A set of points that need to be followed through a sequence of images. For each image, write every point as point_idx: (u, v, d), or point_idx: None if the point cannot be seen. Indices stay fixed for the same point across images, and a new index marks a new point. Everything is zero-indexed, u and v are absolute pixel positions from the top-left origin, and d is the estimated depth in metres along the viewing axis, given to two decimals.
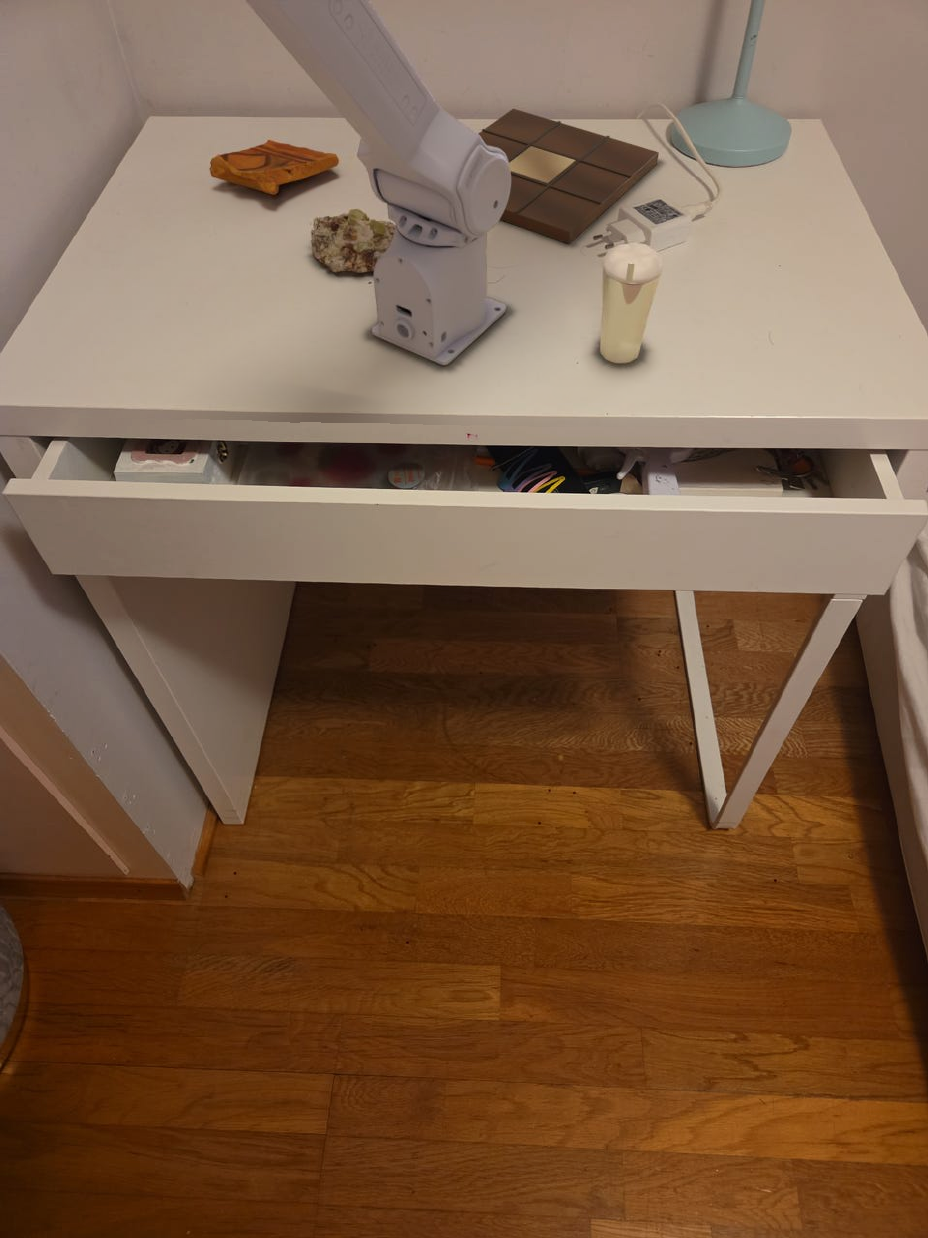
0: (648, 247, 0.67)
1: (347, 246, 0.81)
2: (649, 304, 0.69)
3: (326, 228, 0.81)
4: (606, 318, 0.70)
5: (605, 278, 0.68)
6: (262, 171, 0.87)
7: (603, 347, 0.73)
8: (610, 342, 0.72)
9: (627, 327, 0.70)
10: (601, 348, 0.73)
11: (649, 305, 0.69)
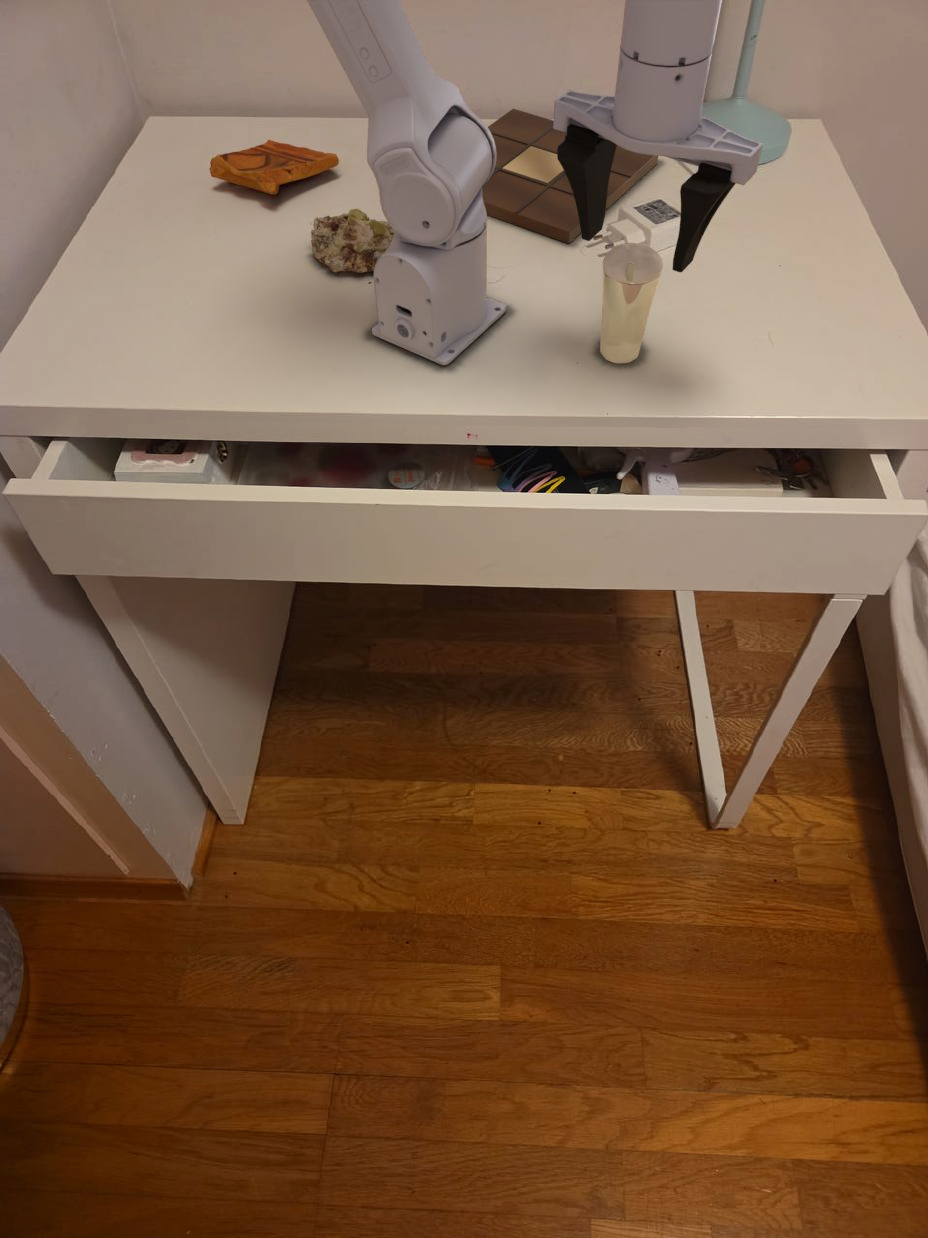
0: (648, 247, 0.67)
1: (347, 246, 0.81)
2: (649, 304, 0.69)
3: (326, 228, 0.81)
4: (606, 318, 0.70)
5: (605, 278, 0.68)
6: (262, 171, 0.87)
7: (603, 347, 0.73)
8: (610, 342, 0.72)
9: (627, 327, 0.70)
10: (601, 348, 0.73)
11: (649, 305, 0.69)
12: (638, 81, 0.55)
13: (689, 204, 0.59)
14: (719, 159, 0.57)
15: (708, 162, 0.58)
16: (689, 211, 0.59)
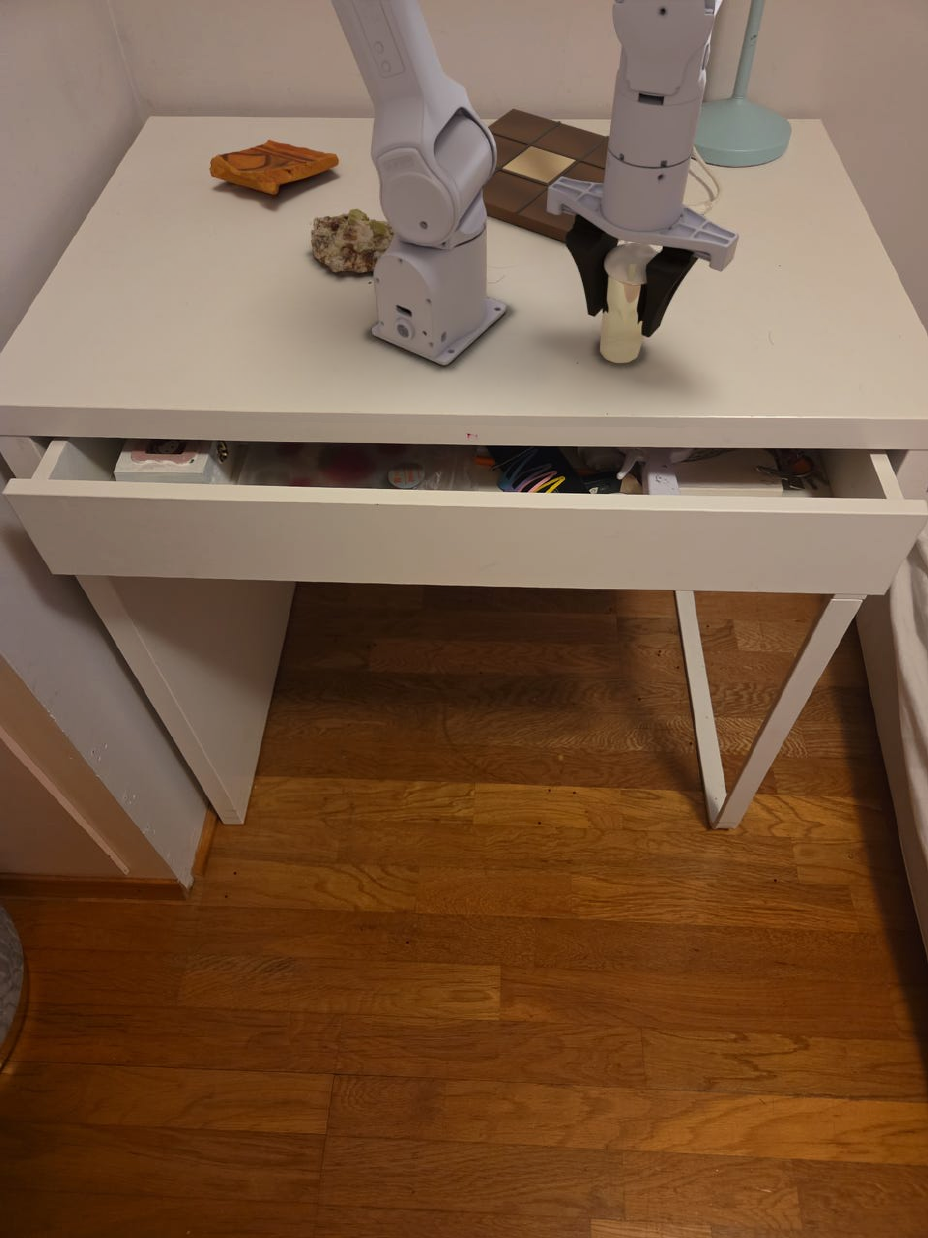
0: (650, 247, 0.67)
1: (347, 246, 0.81)
2: None
3: (326, 228, 0.81)
4: (607, 318, 0.70)
5: (606, 278, 0.68)
6: (262, 171, 0.87)
7: (603, 347, 0.73)
8: (610, 342, 0.72)
9: (627, 327, 0.70)
10: (601, 347, 0.73)
11: None
12: (624, 179, 0.60)
13: (654, 280, 0.64)
14: (699, 248, 0.62)
15: (689, 249, 0.63)
16: (654, 286, 0.65)
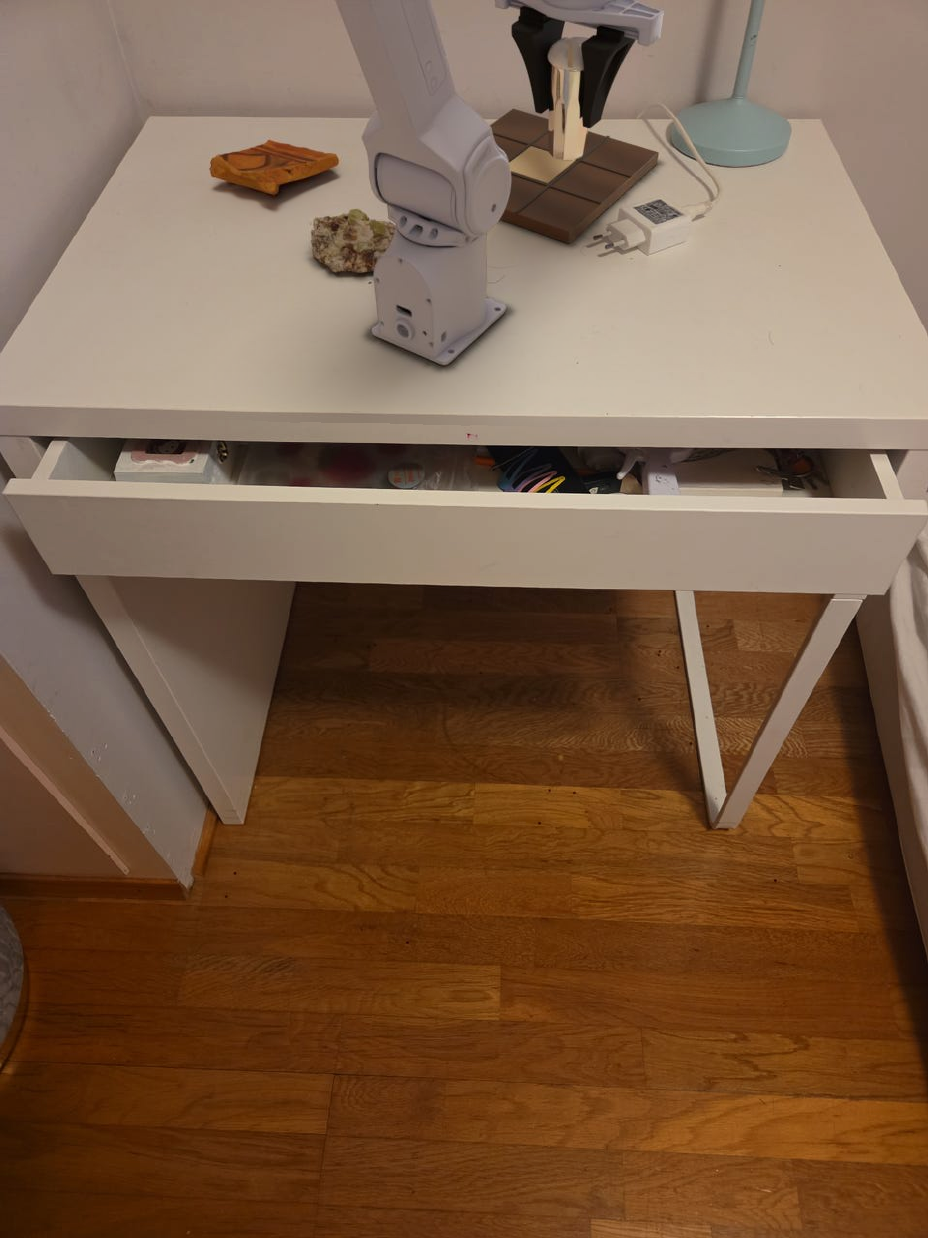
0: None
1: (347, 246, 0.81)
2: None
3: (326, 228, 0.81)
4: (552, 112, 0.77)
5: (550, 68, 0.74)
6: (262, 171, 0.87)
7: (550, 145, 0.80)
8: (556, 137, 0.78)
9: (571, 119, 0.77)
10: (549, 147, 0.80)
11: None
12: None
13: (589, 61, 0.71)
14: (627, 23, 0.68)
15: (620, 29, 0.70)
16: (590, 68, 0.72)
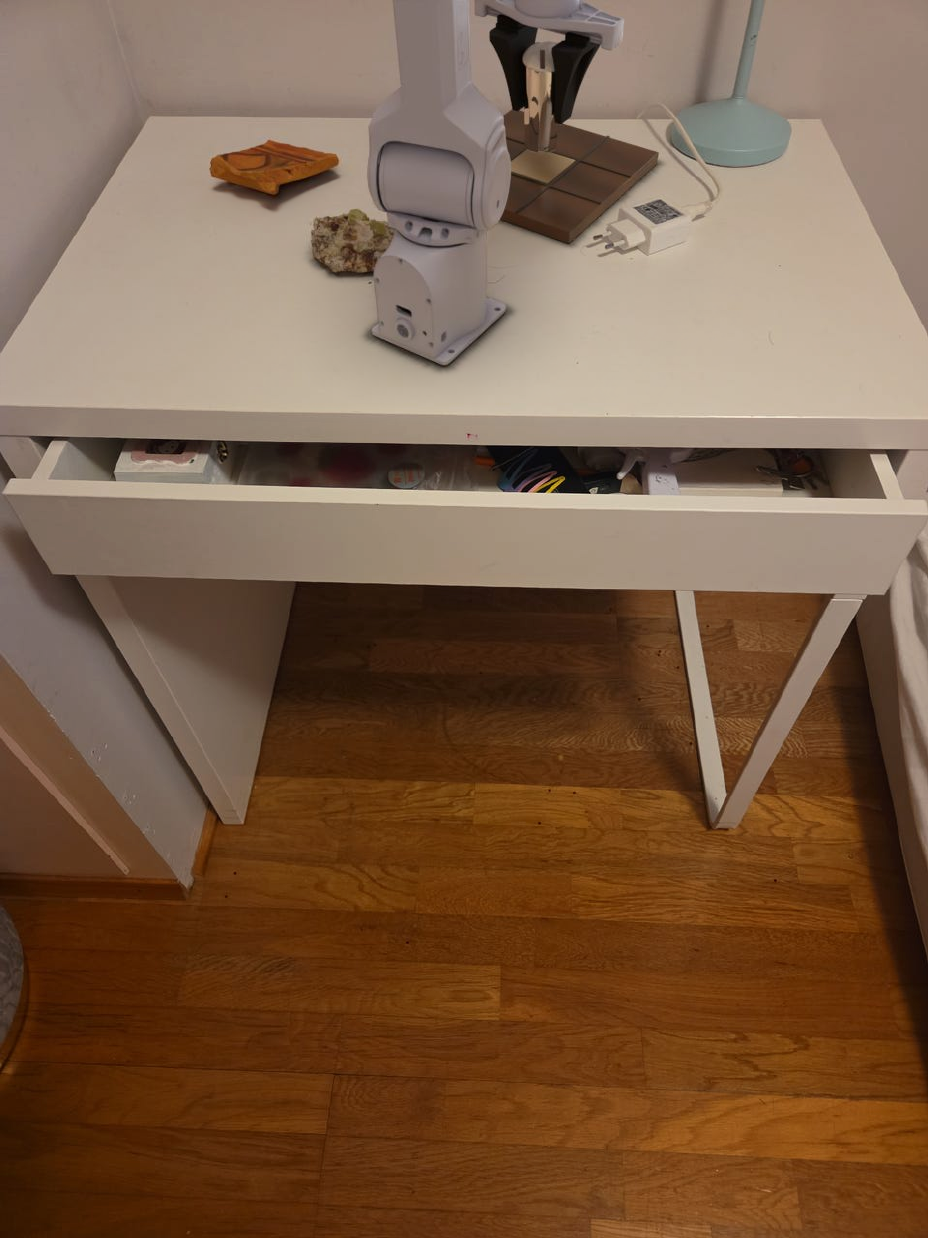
0: None
1: (347, 246, 0.81)
2: None
3: (326, 228, 0.81)
4: (527, 109, 0.85)
5: (524, 70, 0.83)
6: (262, 171, 0.87)
7: (526, 139, 0.88)
8: (531, 132, 0.87)
9: (544, 116, 0.85)
10: (525, 141, 0.88)
11: None
12: None
13: (559, 63, 0.79)
14: (592, 30, 0.77)
15: (586, 35, 0.78)
16: (560, 69, 0.80)
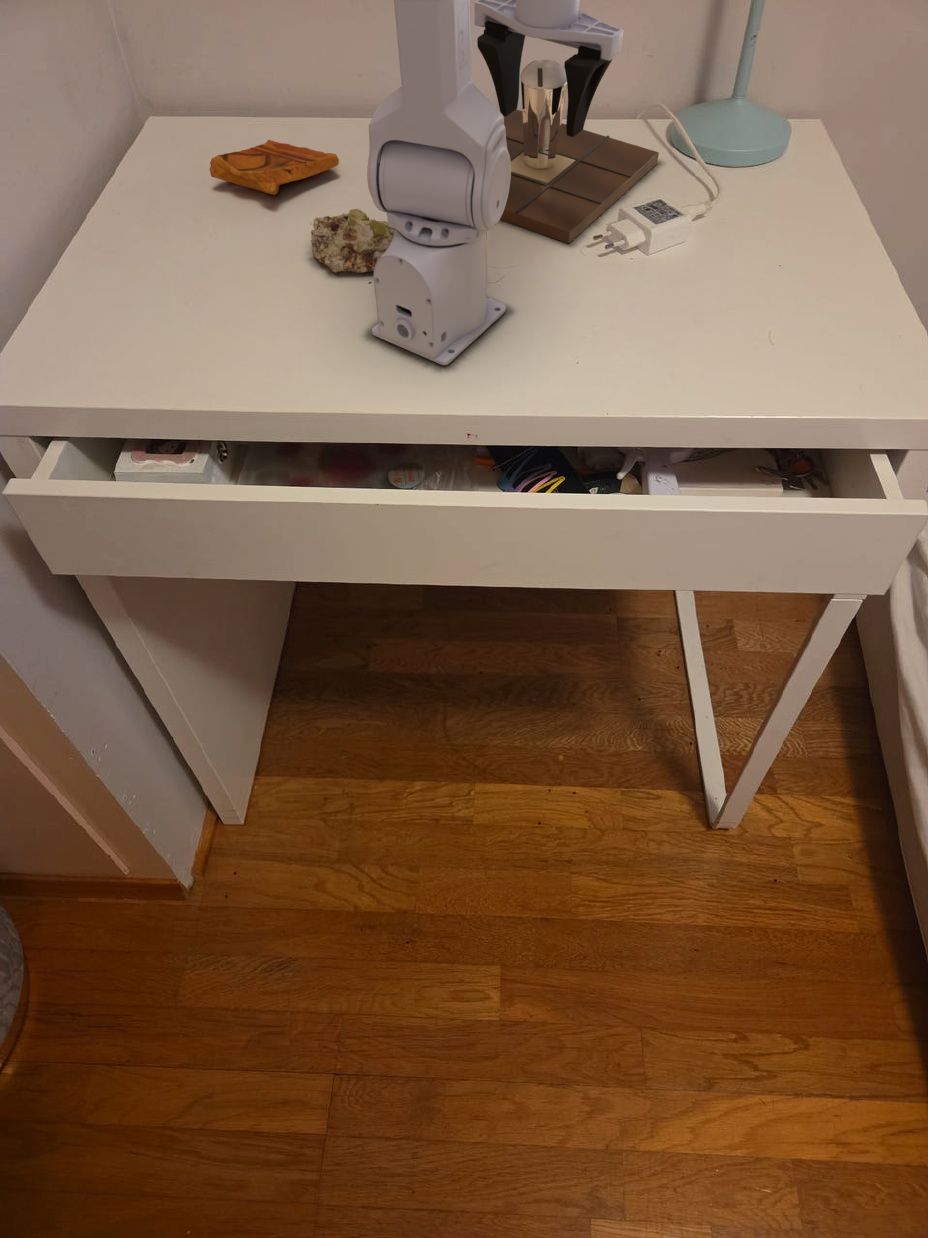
0: (556, 62, 0.84)
1: (347, 246, 0.81)
2: (559, 111, 0.85)
3: (326, 228, 0.81)
4: (526, 126, 0.87)
5: (522, 88, 0.84)
6: (262, 171, 0.87)
7: (526, 155, 0.89)
8: (530, 148, 0.88)
9: (542, 132, 0.86)
10: (524, 157, 0.90)
11: (559, 112, 0.85)
12: None
13: (572, 77, 0.79)
14: (591, 40, 0.77)
15: (585, 45, 0.79)
16: (572, 83, 0.80)
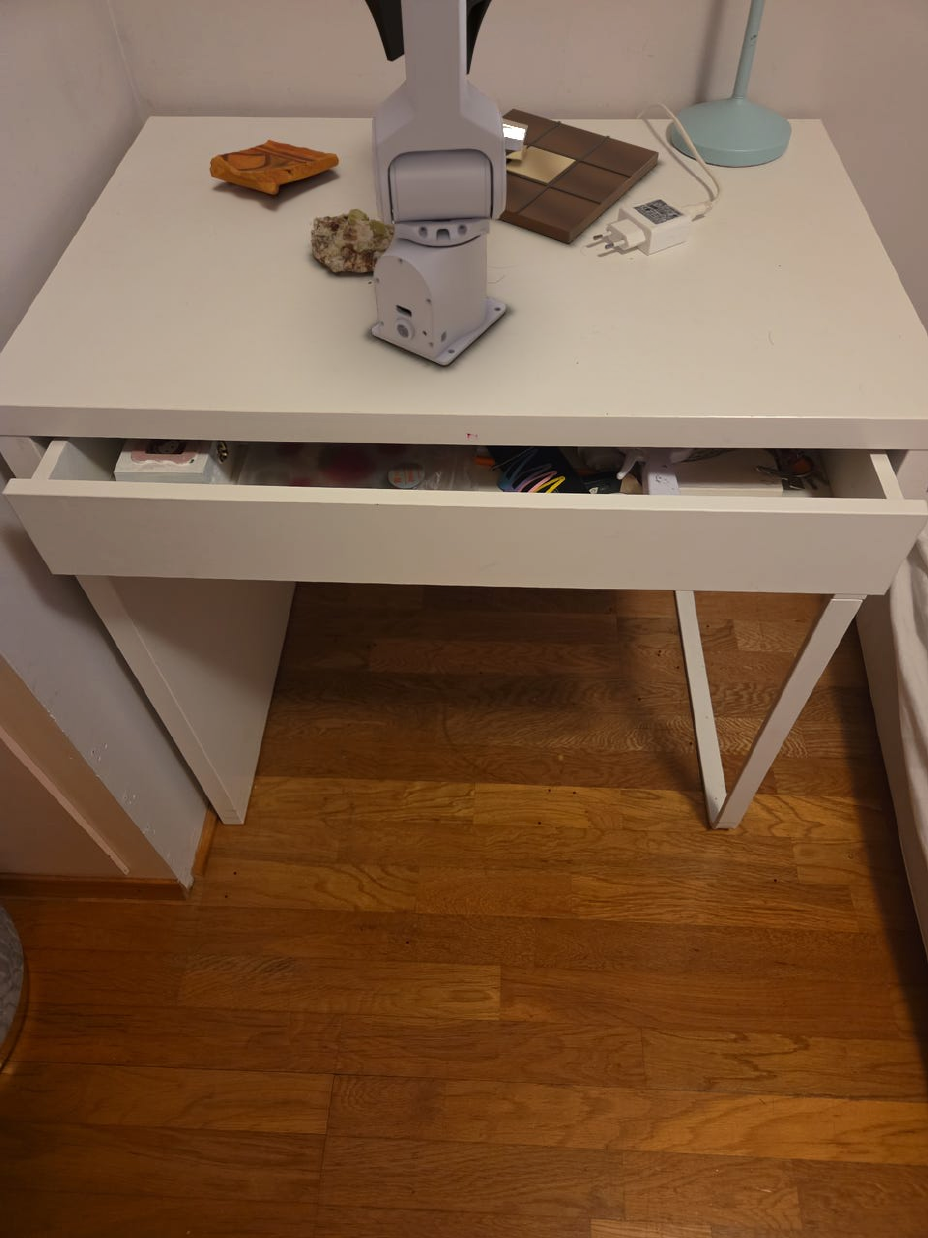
0: None
1: (347, 246, 0.81)
2: None
3: (326, 228, 0.81)
4: None
5: None
6: (262, 171, 0.87)
7: (513, 159, 0.90)
8: None
9: None
10: (516, 160, 0.90)
11: None
12: None
13: None
14: None
15: None
16: None
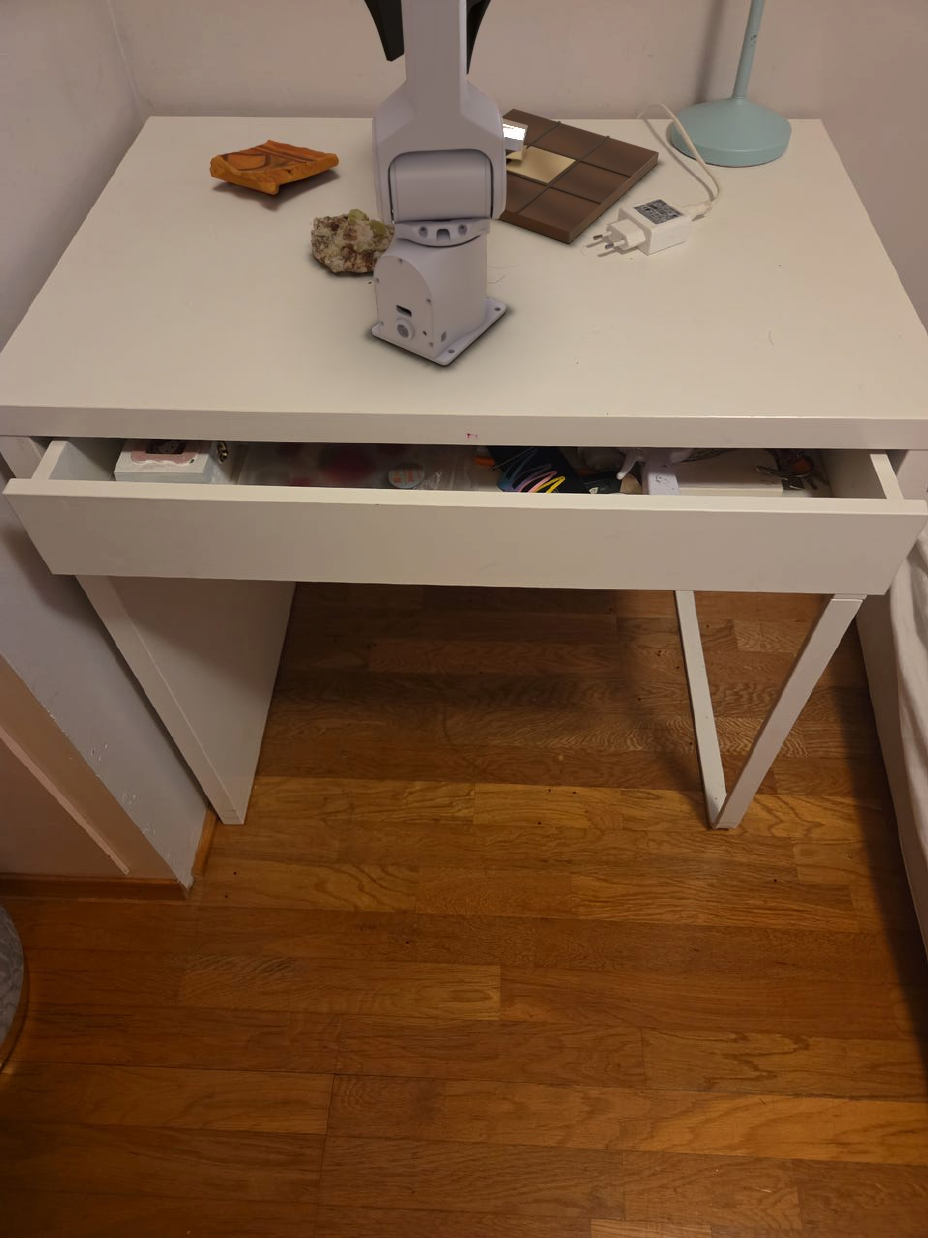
0: None
1: (347, 246, 0.81)
2: None
3: (325, 228, 0.81)
4: None
5: None
6: (262, 171, 0.87)
7: (513, 159, 0.90)
8: None
9: None
10: (516, 160, 0.90)
11: None
12: None
13: None
14: None
15: None
16: None
